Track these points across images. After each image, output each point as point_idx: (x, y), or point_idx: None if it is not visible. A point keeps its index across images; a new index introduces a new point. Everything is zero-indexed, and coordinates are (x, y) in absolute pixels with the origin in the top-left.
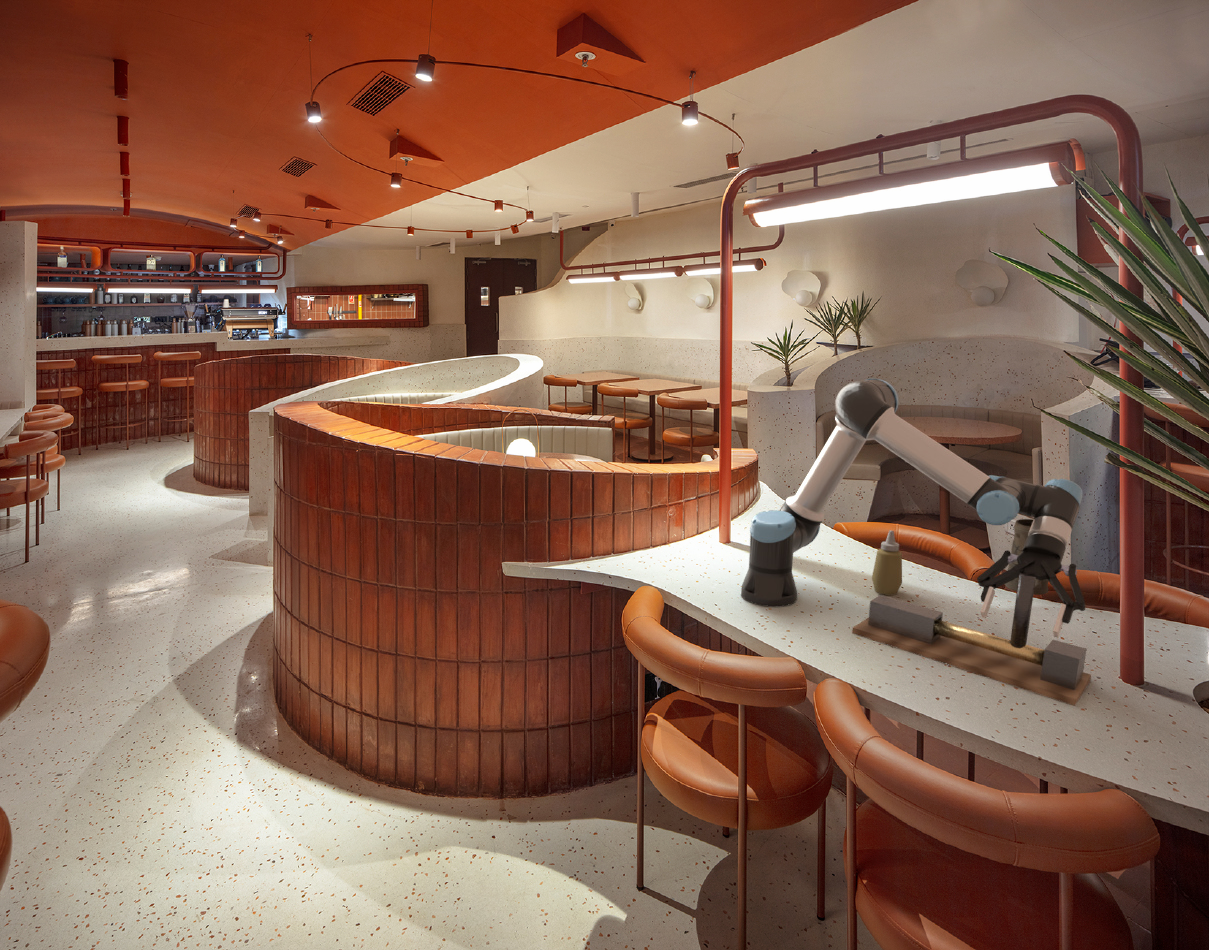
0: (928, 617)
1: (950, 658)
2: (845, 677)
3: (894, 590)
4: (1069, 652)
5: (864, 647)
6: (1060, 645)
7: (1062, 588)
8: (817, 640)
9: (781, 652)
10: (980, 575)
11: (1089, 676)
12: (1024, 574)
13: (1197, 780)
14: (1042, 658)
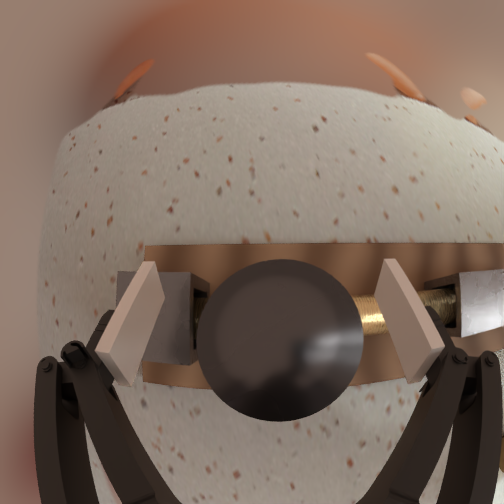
0: (468, 272)
1: (376, 244)
2: (421, 107)
3: (502, 446)
4: None
5: (470, 208)
6: (164, 333)
7: (97, 435)
8: (499, 185)
9: (485, 129)
10: (499, 375)
11: (143, 369)
12: (318, 361)
13: (53, 171)
14: (204, 298)
